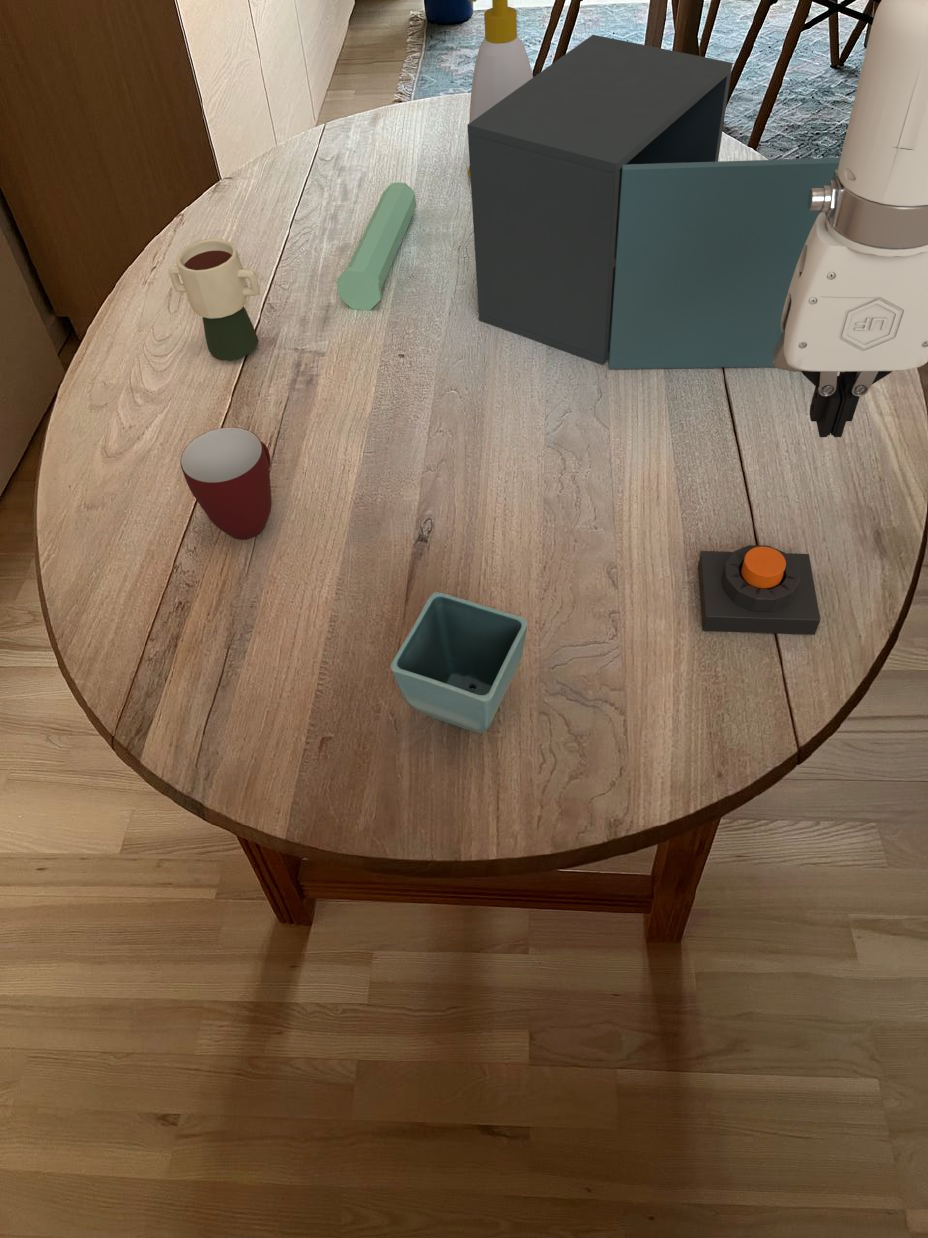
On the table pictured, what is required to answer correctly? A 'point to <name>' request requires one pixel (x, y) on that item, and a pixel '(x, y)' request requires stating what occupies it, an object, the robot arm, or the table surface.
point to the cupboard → (579, 180)
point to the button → (763, 567)
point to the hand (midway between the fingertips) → (827, 425)
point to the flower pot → (459, 660)
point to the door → (708, 259)
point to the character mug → (218, 295)
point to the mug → (230, 479)
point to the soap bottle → (498, 60)
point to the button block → (756, 596)
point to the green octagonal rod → (377, 248)
